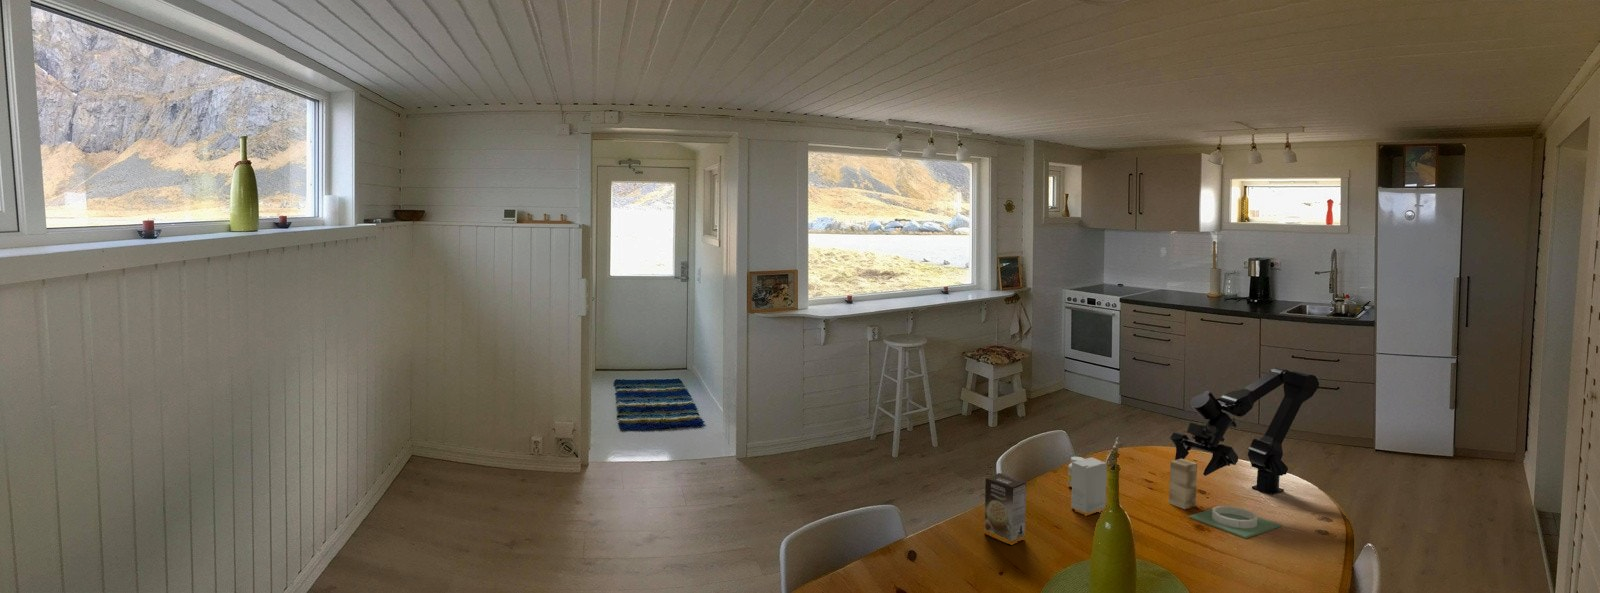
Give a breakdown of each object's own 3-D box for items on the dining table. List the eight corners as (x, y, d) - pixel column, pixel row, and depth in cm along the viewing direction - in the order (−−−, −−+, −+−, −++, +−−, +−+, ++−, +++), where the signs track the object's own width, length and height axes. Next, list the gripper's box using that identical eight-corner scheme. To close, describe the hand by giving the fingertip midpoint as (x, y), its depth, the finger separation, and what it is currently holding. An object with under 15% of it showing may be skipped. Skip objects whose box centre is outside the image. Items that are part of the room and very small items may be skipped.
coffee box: (983, 535, 196) (983, 477, 194) (997, 528, 200) (998, 472, 198) (1011, 546, 189) (1012, 486, 187) (1026, 540, 192) (1027, 481, 191)
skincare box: (1090, 505, 216) (1091, 456, 214) (1107, 512, 210) (1108, 462, 209) (1069, 510, 212) (1070, 460, 211) (1086, 517, 207) (1087, 466, 205)
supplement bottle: (1064, 487, 230) (1065, 458, 230) (1073, 483, 234) (1074, 454, 233) (1080, 492, 226) (1081, 462, 225) (1089, 488, 230) (1089, 458, 229)
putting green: (1224, 506, 213) (1224, 498, 213) (1280, 526, 199) (1281, 517, 199) (1188, 517, 206) (1189, 508, 206) (1245, 538, 192) (1245, 529, 191)
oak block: (1179, 500, 218) (1181, 458, 217) (1195, 506, 214) (1197, 463, 213) (1169, 503, 216) (1170, 461, 215) (1184, 509, 212) (1186, 466, 211)
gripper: (1175, 406, 225) (1149, 446, 221) (1234, 420, 208) (1208, 463, 204) (1190, 427, 229) (1165, 467, 225) (1249, 443, 212) (1224, 486, 208)
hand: (1189, 470), depth 216 cm, fingers open, 9 cm apart
